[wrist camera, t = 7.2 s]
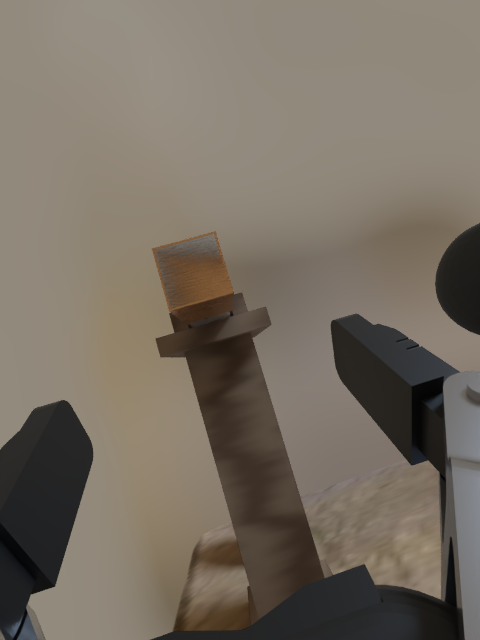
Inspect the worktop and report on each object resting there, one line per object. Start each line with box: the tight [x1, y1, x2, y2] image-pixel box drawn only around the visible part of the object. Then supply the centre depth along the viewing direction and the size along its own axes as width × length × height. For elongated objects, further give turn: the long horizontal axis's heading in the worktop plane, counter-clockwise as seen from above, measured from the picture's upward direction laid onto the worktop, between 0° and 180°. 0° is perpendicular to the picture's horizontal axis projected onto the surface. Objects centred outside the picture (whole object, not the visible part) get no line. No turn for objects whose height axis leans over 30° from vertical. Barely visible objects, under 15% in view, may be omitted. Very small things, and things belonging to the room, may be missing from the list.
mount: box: [156, 293, 333, 625], centre depth 32 cm, size 10×18×34 cm, turn 2°
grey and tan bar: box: [152, 232, 234, 328], centre depth 28 cm, size 3×24×3 cm, turn 2°
